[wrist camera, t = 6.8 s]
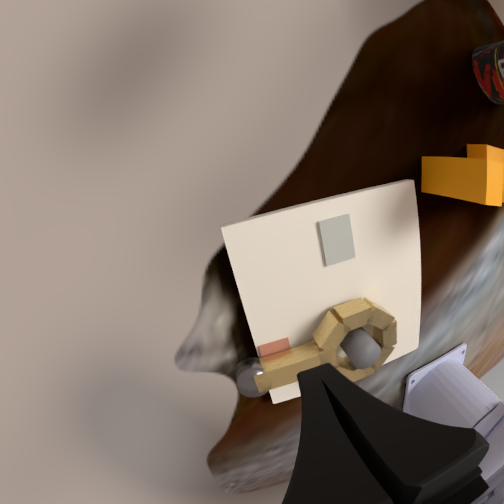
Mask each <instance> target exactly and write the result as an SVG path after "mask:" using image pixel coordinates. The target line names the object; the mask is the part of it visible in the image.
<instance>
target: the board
mask: <svg viewBox="0 0 504 504" xmlns="http://www.w3.org/2000/svg"><path fill="white" fill-rule="evenodd" d="M220 226H221V231H222V234H223V238H224V241H225V245H226V249H227V252H228V256H229V259H230V263H231V266H232V270H233V273H234V276H235V280H236V283H237V287H238V290H239V294H240V297H241V300H242V304H243V307H244V311H245V314H246V317H247V321H248V324H249V327H250V331H251V334H252V337H253V340H254V344H255V347H256V350H257V354H258V357H259V358H262V357H266V356H269V355H272V354H275V353H279V352H282V351H285V350H288V349H291V348H294V347H297V346H300V345H303V344H306V343H309V342H311V339H313V336H312V334H313V333H314V331H315V330H316V329H317V327H318V326H319V324H320V323H321V321H322V320H323V318H324V317H325V315H326V314H327V312H328V311H331V312H334V310H333V307H335V306H337V305H340V304H343V303H345V302H348V301H351V300H354V299H356V298H359V297H361V298H362V299H364V297H365V298H367V299H369V300H371V301H372V302H374V303H376V304H378V305H380V306H381V307H383V308H384V309H386V310H387V311H388V312H389V313H390V314H391V315H393V316H394V317H395V320H396V321H397V344H395V345H393V346H394V347H395V349H394V350H393V351H392V353H391V354H390V355H389V357H388V358H387V359H386V361H385V362H384V363H383V364H386V363H388V362H390V361H392V360H394V359H396V358H398V357H401V356H403V355H405V354H407V353H409V352H411V351H413V350H415V349H417V348H418V342H419V329H420V310H421V254H420V235H419V222H418V211H417V201H416V193H415V185H414V180H409V179H406V180H401V181H397V182H392V183H388V184H383V185H379V186H374V187H370V188H365V189H361V190H357V191H353V192H348V193H344V194H340V195H336V196H331V197H327V198H323V199H319V200H315V201H311V202H307V203H303V204H299V205H295V206H291V207H287V208H283V209H279V210H276V211H272V212H268V213H264V214H260V215H257V216H253V217H249V218H245V219H242V220H238V221H234V222H231V223H227V224H223V225H220ZM372 336H373V325H371V324H366V325H364V326H361V327H359V328H356V329H354V330H351V331H349V332H348V333H347V335H346V336H345V337H344V339H343V340H342V342H341V343H340V344H339V346H338V347H337V348H336V356H339V357H341V358H347V357H348V358H349V359H350V361H351V362H352V363H353V365H354V366H355V367H356V368H357V369H366V368H369V367H371V366H372V365H373V364H375V363H376V361H377V360H378V359H379V357H380V354H381V348H380V346H379V345H378V344H377V343H376V342H375V341H374V340H373V338H372ZM269 392H270V395H271V398H272V401H273V404H275V403H279V402H282V401H286V400H289V399H292V398H296V397H299V396H301V394H300V389H299V384H298V381H297V382H294V383H291V384H288V385H285V386H282V387H278V388H275V389H272V390H269Z"/></svg>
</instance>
